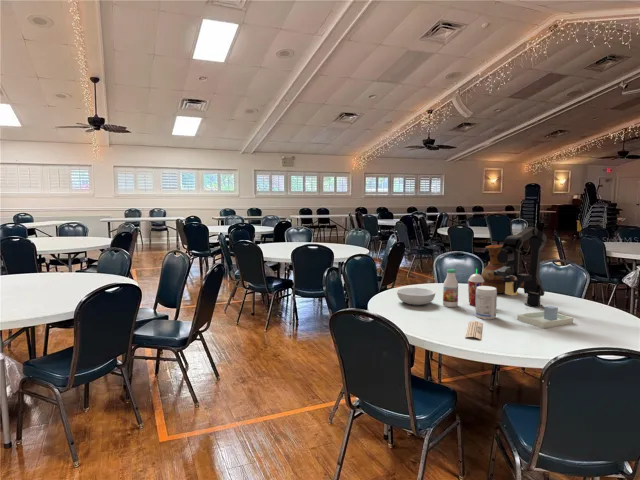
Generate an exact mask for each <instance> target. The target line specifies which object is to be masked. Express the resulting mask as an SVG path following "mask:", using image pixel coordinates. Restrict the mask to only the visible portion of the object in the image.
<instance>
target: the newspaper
mask: <svg viewBox="0 0 640 480" xmlns="http://www.w3.org/2000/svg"><path fill="white" fill-rule="evenodd" d="M482 330H483V323H482V322H480V321H476V320H470V321H468V324H467V328H466V332H465V337H464V338H465V339H467V338H476V339H478V340H479V341H481V339H482Z"/></svg>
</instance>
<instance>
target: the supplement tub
mask: <svg viewBox="0 0 640 480" xmlns="http://www.w3.org/2000/svg"><path fill="white" fill-rule="evenodd" d="M497 295H498V293H497V289H496V288H495V287H490V286H478V287H476V306H475V310H474V311H475V317H476V318H478V319H483V320H493V319H496V317H497V299H498V298H497Z"/></svg>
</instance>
